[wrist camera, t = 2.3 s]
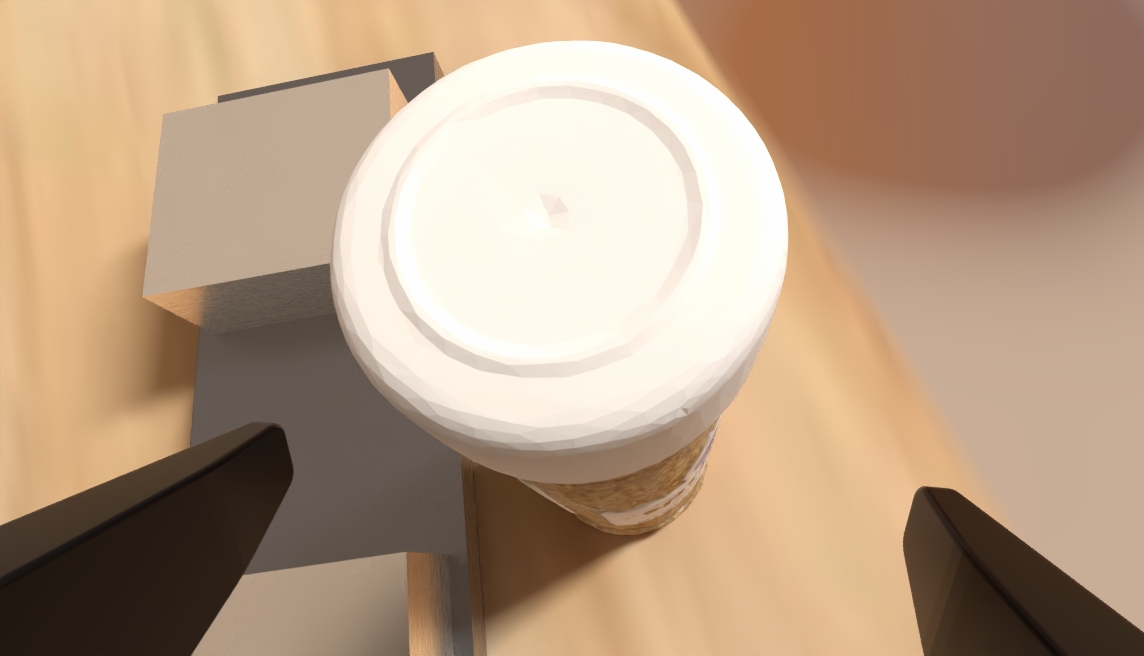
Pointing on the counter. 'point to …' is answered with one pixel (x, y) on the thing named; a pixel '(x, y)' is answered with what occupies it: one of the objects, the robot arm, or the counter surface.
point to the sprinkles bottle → (565, 271)
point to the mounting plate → (310, 377)
